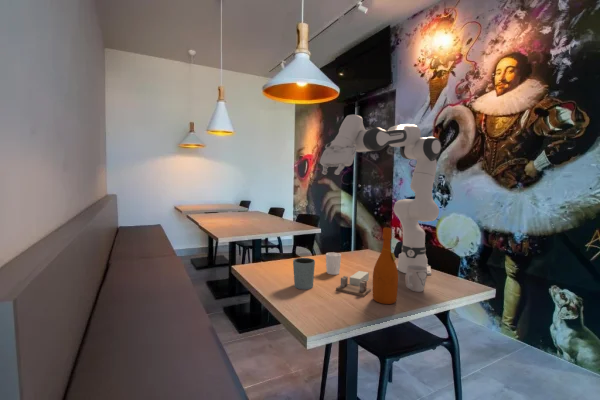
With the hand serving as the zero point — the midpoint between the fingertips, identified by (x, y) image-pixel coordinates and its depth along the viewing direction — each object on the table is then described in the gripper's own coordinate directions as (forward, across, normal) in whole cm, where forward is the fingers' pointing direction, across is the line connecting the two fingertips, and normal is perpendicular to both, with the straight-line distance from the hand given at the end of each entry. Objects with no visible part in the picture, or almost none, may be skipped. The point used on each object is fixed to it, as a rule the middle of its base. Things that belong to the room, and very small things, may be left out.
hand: (329, 174), depth 134 cm
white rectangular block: (+38, -3, -39) cm, 54 cm away
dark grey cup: (+50, +5, -15) cm, 53 cm away
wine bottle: (+40, -24, -34) cm, 58 cm away
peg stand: (+42, -10, -30) cm, 53 cm away
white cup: (+39, +15, -37) cm, 56 cm away
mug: (+31, -22, -52) cm, 65 cm away
